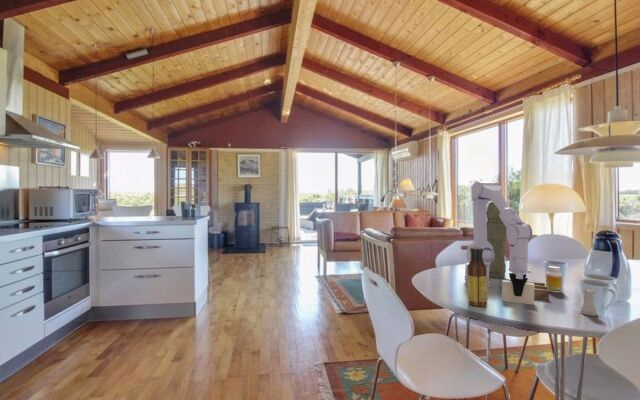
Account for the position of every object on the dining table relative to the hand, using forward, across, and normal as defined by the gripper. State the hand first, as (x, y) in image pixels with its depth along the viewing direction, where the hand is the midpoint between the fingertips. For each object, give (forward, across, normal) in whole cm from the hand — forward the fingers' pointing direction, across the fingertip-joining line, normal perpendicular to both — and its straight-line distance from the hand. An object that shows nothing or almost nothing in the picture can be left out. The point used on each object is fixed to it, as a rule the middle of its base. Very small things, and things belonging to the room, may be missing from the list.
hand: (517, 294), depth 126 cm
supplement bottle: (+3, +23, -14) cm, 27 cm away
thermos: (+3, +39, +7) cm, 40 cm away
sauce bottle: (+3, -11, +13) cm, 17 cm away
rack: (+2, +14, -3) cm, 15 cm away
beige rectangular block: (+2, 0, 0) cm, 2 cm away
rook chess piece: (+3, -4, -20) cm, 21 cm away
